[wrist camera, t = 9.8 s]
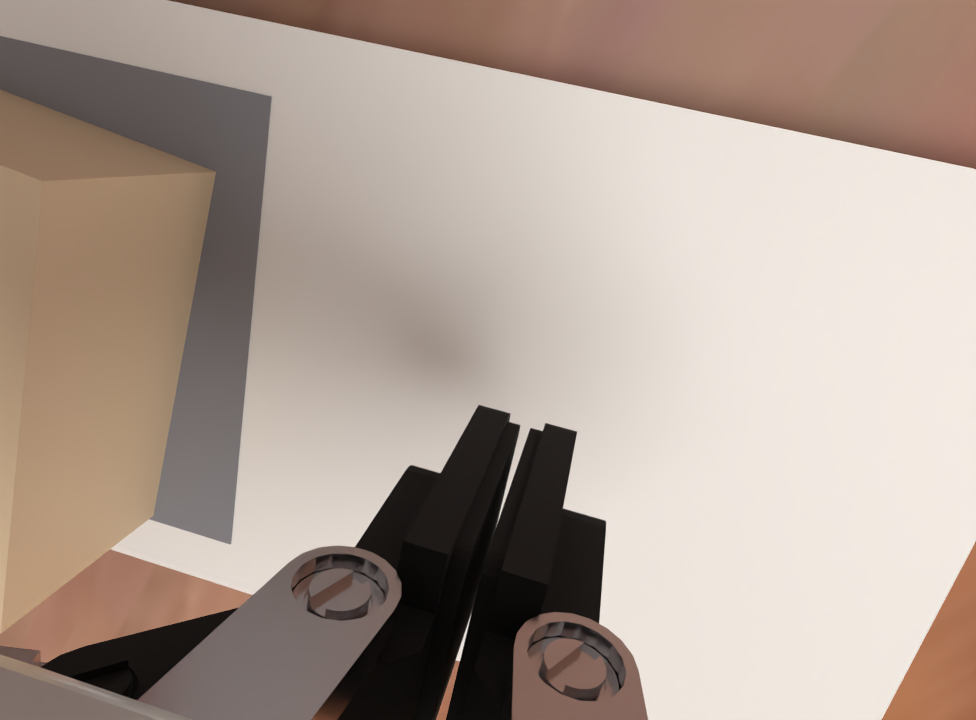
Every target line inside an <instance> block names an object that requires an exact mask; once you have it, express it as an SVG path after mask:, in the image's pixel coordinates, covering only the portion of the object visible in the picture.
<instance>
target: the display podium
mask: <svg viewBox="0 0 976 720" xmlns="http://www.w3.org/2000/svg"><path fill="white" fill-rule="evenodd" d="M0 90H3V91H5V92H8V93H11V94H13V95H16V96H18V97H21V98H24V99H26V100H29V101H32V102H34V103H37V104H39V105H42V106H45V107H47V108H50V109H53V110H55V111H58V112H61V113H63V114H66V115H68V116H71V117H74V118H76V119H79V120H82V121H84V122H87V123H89V124H92V125H95V126H97V127H100V128H103V129H105V130H108V131H110V132H113V133H116V134H118V135H121V136H124V137H126V138H129V139H131V140H134V141H137V142H139V143H142V144H145V145H147V146H150V147H153V148H155V149H158V150H160V151H163V152H166V153H168V154H171V155H174V156H176V157H179V158H181V159H184V160H187V161H189V162H192V163H195V164H197V165H200V166H202V167H205V168H208V169H210V170H213V171H216V175H215V181H214V186H213V191H212V197H211V202H210V208H209V213H208V219H207V224H206V230H205V235H204V241H203V246H202V252H201V257H200V263H199V268H198V274H197V279H196V285H195V290H194V296H193V301H192V307H191V312H190V318H189V323H188V329H187V334H186V340H185V345H184V351H183V356H182V362H181V367H180V373H179V378H178V384H177V389H176V395H175V400H174V406H173V411H172V417H171V422H170V427H169V433H168V438H167V444H166V449H165V455H164V460H163V466H162V471H161V477H160V482H159V488H158V493H157V499H156V504H155V510H154V515H153V516H152V517H151V518H150V519H149V520H147V521H146V522H145V523H143V524H142V525H141V526H139V527H138V528H137V529H136V530H134V531H133V532H132V533H130V534H129V535H128V536H127V537H125V538H124V539H123V540H121V541H120V542H119V543H117V544H116V545H115V546H114V547H112V548H111V550H114V551H117V552H121V553H124V554H127V555H130V556H133V557H136V558H139V559H142V560H145V561H149V562H152V563H155V564H158V565H161V566H164V567H167V568H170V569H173V570H177V571H180V572H183V573H186V574H189V575H192V576H195V577H198V578H201V579H205V580H208V581H211V582H214V583H217V584H220V585H223V586H226V587H230V588H233V589H236V590H239V591H242V592H245V593H248V594H251V595H253V594H255V593H256V592H257V591H258V590H259V589H260V588H261V587H262V586H263V585H264V584H266V583H267V582H268V581H269V580H270V579H271V578H272V577H273V576H274V575H275V574H277V573H278V572H279V571H280V570H281V569H282V568H283V567H284V566H285V565H286V564H288V563H289V562H290V561H291V560H293V559H294V558H296V557H297V556H299V555H300V554H302V553H304V552H307V551H310V550H313V549H316V548H319V547H327V546H336V545H338V546H349V547H355V546H356V545H357V543H358V541H359V540H360V538H361V537H362V535H363V534H364V532H365V531H366V529H367V528H368V526H369V525H370V523H371V522H372V520H373V519H374V517H375V516H376V514H377V513H378V511H379V510H380V508H381V507H382V505H383V504H384V502H385V501H386V499H387V498H388V496H389V495H390V493H391V492H392V490H393V489H394V487H395V486H396V484H397V483H398V481H399V480H400V478H401V477H402V475H403V473H404V472H405V470H406V469H407V468H408V467H409V466H410V465H414V466H417V467H421V468H424V469H428V470H431V471H435V472H438V473H441V471H442V470H443V468H444V466H445V464H446V462H447V461H448V459H449V457H450V455H451V453H452V452H453V450H454V448H455V446H456V444H457V443H458V441H459V439H460V437H461V435H462V434H463V432H464V430H465V428H466V426H467V425H468V423H469V421H470V419H471V417H472V416H473V414H474V412H475V410H476V408H477V407H478V405H482V406H485V407H489V408H493V409H496V410H500V411H504V412H507V413H510V420H509V422H511V423H515V424H518V425H520V431H519V435H518V439H517V444H516V448H515V452H514V456H513V460H512V464H511V468H510V472H509V477H508V481H507V485H506V489H505V493H504V497H503V501H502V505H501V510H500V514H499V518H500V515H501V512H502V509H503V506H504V503H505V500H506V498H507V495H508V492H509V489H510V486H511V483H512V480H513V477H514V474H515V471H516V468H517V466H518V463H519V460H520V457H521V454H522V451H523V448H524V445H525V442H526V439H527V436H528V434H529V431H530V428H533V429H537V430H540V431H543V429H544V426H545V423H548V424H551V425H555V426H559V427H562V428H566V429H570V430H573V431H577V436H576V441H575V446H574V452H573V457H572V462H571V468H570V473H569V479H568V484H567V489H566V495H565V500H564V505H563V508H564V509H567V510H571V511H574V512H578V513H581V514H585V515H588V516H591V517H595V518H598V519H602V520H605V521H606V536H605V550H604V564H603V578H602V592H601V606H600V620H599V624H600V625H602V626H604V627H606V628H608V629H609V630H610V631H611V632H612V633H614V634H615V635H616V636H617V637H618V638H619V639H621V640H622V641H623V643H624V644H625V645H626V647H627V648H628V649H629V651H630V652H631V653H632V655H633V657H634V660H635V662H636V665H637V668H638V670H639V675H640V680H641V685H642V690H643V695H644V701H645V706H646V711H647V716H648V720H881V719H882V718H883V716H884V714H885V712H886V710H887V708H888V706H889V704H890V702H891V700H892V699H893V697H894V695H895V693H896V691H897V689H898V687H899V685H900V683H901V682H902V680H903V678H904V676H905V674H906V672H907V670H908V668H909V666H910V664H911V663H912V661H913V659H914V657H915V655H916V653H917V651H918V649H919V647H920V646H921V644H922V642H923V640H924V638H925V636H926V634H927V632H928V630H929V629H930V627H931V625H932V623H933V621H934V619H935V617H936V615H937V613H938V611H939V610H940V608H941V606H942V604H943V602H944V600H945V598H946V596H947V594H948V593H949V591H950V589H951V587H952V585H953V583H954V581H955V579H956V577H957V575H958V574H959V572H960V570H961V568H962V566H963V564H964V562H965V560H966V558H967V557H968V555H969V553H970V551H971V549H972V547H973V545H974V543H975V541H976V169H973V168H968V167H963V166H959V165H954V164H949V163H944V162H939V161H935V160H930V159H925V158H920V157H915V156H911V155H906V154H901V153H896V152H891V151H887V150H882V149H877V148H872V147H868V146H863V145H858V144H853V143H848V142H844V141H839V140H834V139H829V138H824V137H820V136H815V135H810V134H805V133H801V132H796V131H791V130H786V129H781V128H777V127H772V126H767V125H762V124H757V123H753V122H748V121H743V120H738V119H733V118H729V117H724V116H719V115H714V114H710V113H705V112H700V111H695V110H690V109H686V108H681V107H676V106H671V105H666V104H662V103H657V102H652V101H647V100H642V99H638V98H633V97H628V96H623V95H619V94H614V93H609V92H604V91H599V90H595V89H590V88H585V87H580V86H575V85H571V84H566V83H561V82H556V81H551V80H547V79H542V78H537V77H532V76H528V75H523V74H518V73H513V72H508V71H504V70H499V69H494V68H489V67H484V66H480V65H475V64H470V63H465V62H461V61H456V60H451V59H446V58H441V57H437V56H432V55H427V54H422V53H417V52H413V51H408V50H403V49H398V48H393V47H389V46H384V45H379V44H374V43H370V42H365V41H360V40H355V39H350V38H346V37H341V36H336V35H331V34H326V33H322V32H317V31H312V30H307V29H302V28H298V27H293V26H288V25H283V24H279V23H274V22H269V21H264V20H259V19H255V18H250V17H245V16H240V15H235V14H231V13H226V12H221V11H216V10H211V9H207V8H202V7H197V6H192V5H188V4H183V3H178V2H173V1H168V0H0ZM499 518H498V521H499ZM497 524H498V522H497ZM496 527H497V526H496ZM470 618H471V616H470ZM469 622H470V619H469ZM469 622H468V625H467V628H466V631H465V634H464V637H463V640H462V643H461V646H460V649H459V652H458V655H457V658H456V660H457V661H460V659H461V655H462V651H463V647H464V643H465V639H466V634H467V630H468V626H469Z"/></svg>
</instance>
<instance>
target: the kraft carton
mask: <svg viewBox="0 0 976 720" xmlns="http://www.w3.org/2000/svg"><path fill="white" fill-rule="evenodd" d="M215 175H216V171H213V170H210V169H208V168H205V167H202V166H200V165H197V164H195V163H192V162H189V161H187V160H184V159H181V158H179V157H176V156H174V155H171V154H168V153H166V152H163V151H160V150H158V149H155V148H153V147H150V146H147V145H145V144H142V143H139V142H137V141H134V140H131V139H129V138H126V137H124V136H121V135H118V134H116V133H113V132H110V131H108V130H105V129H103V128H100V127H97V126H95V125H92V124H89V123H87V122H84V121H82V120H79V119H76V118H74V117H71V116H68V115H66V114H63V113H61V112H58V111H55V110H53V109H50V108H47V107H45V106H42V105H39V104H37V103H34V102H32V101H29V100H26V99H24V98H21V97H18V96H16V95H13V94H11V93H8V92H5V91H3V90H0V634H1V633H2V632H4V631H5V630H6V629H7V628H9V627H10V626H11V625H13V624H14V623H15V622H16V621H18V620H19V619H20V618H22V617H23V616H24V615H26V614H27V613H28V612H29V611H31V610H32V609H33V608H35V607H36V606H37V605H38V604H40V603H41V602H42V601H44V600H45V599H46V598H48V597H49V596H50V595H51V594H53V593H54V592H55V591H57V590H58V589H59V588H60V587H62V586H63V585H64V584H66V583H67V582H68V581H70V580H71V579H72V578H73V577H75V576H76V575H77V574H79V573H80V572H81V571H82V570H84V569H85V568H86V567H88V566H89V565H90V564H92V563H93V562H94V561H95V560H97V559H98V558H99V557H101V556H102V555H103V554H104V553H106V552H107V551H108V550H110V549H111V548H112V547H114V546H115V545H116V544H117V543H119V542H120V541H121V540H123V539H124V538H125V537H127V536H128V535H129V534H130V533H132V532H133V531H134V530H136V529H137V528H138V527H139V526H141V525H142V524H143V523H145V522H146V521H147V520H149V519H150V518H151V517H152V516H153V515H154V510H155V504H156V499H157V493H158V488H159V482H160V477H161V471H162V466H163V460H164V455H165V449H166V444H167V438H168V433H169V427H170V422H171V417H172V411H173V406H174V400H175V395H176V389H177V384H178V378H179V373H180V367H181V362H182V356H183V351H184V345H185V340H186V334H187V329H188V323H189V318H190V312H191V307H192V301H193V296H194V290H195V285H196V279H197V274H198V268H199V263H200V257H201V252H202V246H203V241H204V235H205V230H206V224H207V219H208V213H209V208H210V202H211V197H212V191H213V186H214V181H215Z"/></svg>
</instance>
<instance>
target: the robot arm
mask: <svg viewBox="0 0 976 720" xmlns="http://www.w3.org/2000/svg"><path fill="white" fill-rule="evenodd" d="M509 420H510V413H507V412H504V411H500V410H496V409H493V408H489V407H485V406H482V405H478V407H477V408H476V410H475V412H474V414H473V416H472V417H471V419H470V421H469V423H468V425H467V426H466V428H465V430H464V432H463V434H462V435H461V437H460V439H459V441H458V443H457V444H456V446H455V448H454V450H453V452H452V453H451V455H450V457H449V459H448V461H447V462H446V464H445V466H444V468H443V470H442V471H441V473H438V472H435V471H431V470H428V469H424V468H421V467H417V466H414V465H410V466H409V467H408V468H407V469H406V470H405V472H404V473H403V475H402V477H401V478H400V480H399V481H398V483H397V484H396V486H395V487H394V489H393V490H392V492H391V493H390V495H389V496H388V498H387V499H386V501H385V502H384V504H383V505H382V507H381V508H380V510H379V511H378V513H377V514H376V516H375V517H374V519H373V520H372V522H371V523H370V525H369V526H368V528H367V529H366V531H365V532H364V534H363V535H362V537H361V538H360V540H359V541H358V543H357V545H356V546H355V547H349V546H338V545H336V546H327V547H319V548H316V549H313V550H310V551H307V552H304V553H302V554H300V555H299V556H297V557H296V558H294V559H293V560H291V561H290V562H289V563H288V564H286V565H285V566H284V567H283V568H282V569H281V570H280V571H279V572H278V573H277V574H275V575H274V576H273V577H272V578H271V579H270V580H269V581H268V582H267V583H266V584H264V585H263V586H262V587H261V588H260V589H259V590H258V591H257V592H256V593H255V594H253V595H252V596H251V597H250V598H249V599H248V600H247V601H246V602H245V603H244V604H242V605H241V606H240V607H239V608H236V609H232V610H228V611H224V612H220V613H216V614H212V615H208V616H204V617H200V618H196V619H192V620H188V621H184V622H180V623H176V624H172V625H168V626H164V627H160V628H156V629H152V630H148V631H144V632H140V633H136V634H132V635H128V636H124V637H120V638H116V639H112V640H108V641H104V642H100V643H96V644H92V645H88V646H85V647H82V648H79V649H76V650H73V651H70V652H68V653H65V654H62V655H60V656H58V657H56V658H55V659H53V660H51V661H50V662H48V663H44V662H41V657H40V651H39V650H31V649H22V648H13V647H5V646H0V720H436V717H437V714H438V711H439V708H440V705H441V702H442V700H443V697H444V694H445V691H446V688H447V685H448V682H449V679H450V676H451V673H452V670H453V667H454V664H455V661H456V658H457V655H458V652H459V649H460V646H461V643H462V640H463V637H464V634H465V631H466V628H467V625H468V622H469V619H470V622H469V626H468V630H467V634H466V639H465V643H464V647H463V651H462V655H461V659H460V664H459V668H458V672H457V676H456V680H455V684H454V689H453V693H452V697H451V701H450V705H449V709H448V714H447V718H446V720H648V716H647V711H646V706H645V701H644V695H643V690H642V685H641V680H640V675H639V670H638V668H637V665H636V662H635V660H634V657H633V655H632V653H631V652H630V651H629V649H628V648H627V647H626V645H625V644H624V643H623V641H622V640H621V639H619V638H618V637H617V636H616V635H615V634H614V633H612V632H611V631H610V630H609V629H608V628H606V627H604V626H602V625H600V624H599V620H600V606H601V592H602V578H603V564H604V550H605V536H606V521H605V520H602V519H598V518H595V517H591V516H588V515H585V514H581V513H578V512H574V511H571V510H567V509H564V508H563V505H564V500H565V495H566V489H567V484H568V479H569V473H570V468H571V462H572V457H573V452H574V446H575V441H576V436H577V431H573V430H570V429H566V428H562V427H559V426H555V425H551V424H548V423H545V426H544V429H543V431H540V430H537V429H533V428H530V431H529V434H528V436H527V439H526V442H525V445H524V448H523V451H522V454H521V457H520V460H519V463H518V466H517V468H516V471H515V474H514V477H513V480H512V483H511V486H510V489H509V492H508V495H507V498H506V500H505V503H504V506H503V509H502V512H501V515H500V518H499V514H500V510H501V505H502V501H503V497H504V493H505V489H506V485H507V481H508V477H509V472H510V468H511V464H512V460H513V456H514V452H515V448H516V444H517V439H518V435H519V431H520V425H518V424H515V423H511V422H509ZM498 518H499V521H498ZM497 522H498V524H497ZM496 526H497V527H496ZM470 616H471V618H470Z"/></svg>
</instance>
